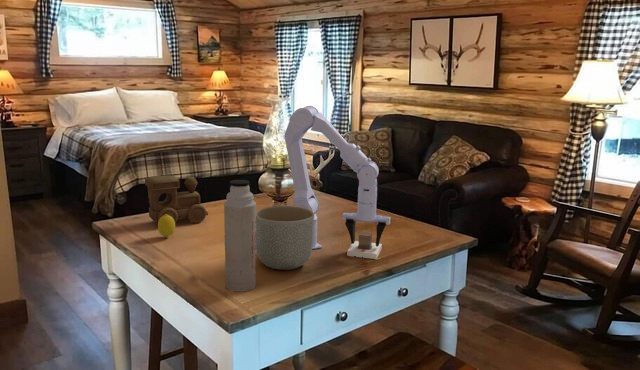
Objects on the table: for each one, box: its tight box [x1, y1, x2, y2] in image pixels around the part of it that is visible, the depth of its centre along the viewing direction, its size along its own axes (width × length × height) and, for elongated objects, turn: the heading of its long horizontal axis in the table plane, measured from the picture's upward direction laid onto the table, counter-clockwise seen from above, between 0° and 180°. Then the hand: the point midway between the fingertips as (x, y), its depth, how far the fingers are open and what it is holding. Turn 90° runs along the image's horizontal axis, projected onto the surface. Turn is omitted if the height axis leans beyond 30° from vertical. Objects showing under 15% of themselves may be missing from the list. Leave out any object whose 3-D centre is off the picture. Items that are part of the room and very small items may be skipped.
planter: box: [256, 205, 314, 271], centre depth 158 cm, size 17×17×15 cm
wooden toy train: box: [144, 174, 209, 224], centre depth 196 cm, size 20×11×17 cm, turn 121°
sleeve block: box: [346, 240, 383, 260], centre depth 171 cm, size 10×9×2 cm
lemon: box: [157, 214, 176, 238], centre depth 179 cm, size 6×6×8 cm
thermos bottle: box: [223, 179, 257, 292], centre depth 141 cm, size 8×8×28 cm
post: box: [358, 231, 373, 250], centre depth 171 cm, size 4×4×6 cm
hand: (365, 244), depth 171 cm, fingers open, 7 cm apart
